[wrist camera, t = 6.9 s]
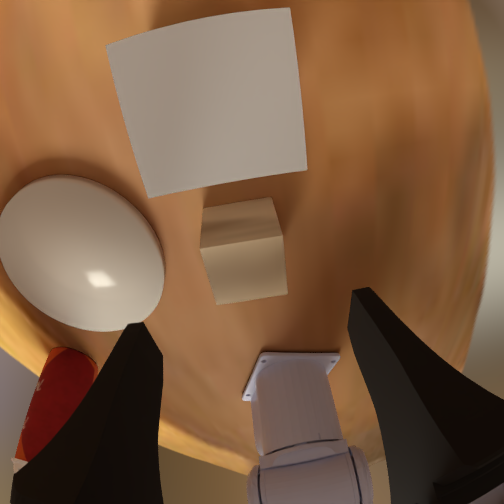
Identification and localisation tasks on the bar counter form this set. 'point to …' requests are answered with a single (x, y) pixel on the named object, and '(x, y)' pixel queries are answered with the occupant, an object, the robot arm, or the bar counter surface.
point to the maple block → (243, 251)
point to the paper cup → (54, 400)
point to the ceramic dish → (81, 253)
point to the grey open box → (212, 100)
